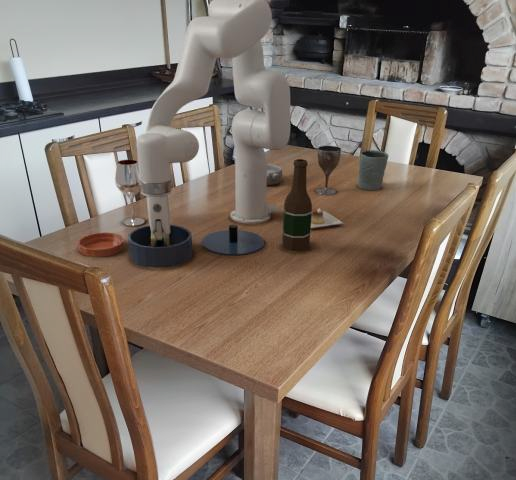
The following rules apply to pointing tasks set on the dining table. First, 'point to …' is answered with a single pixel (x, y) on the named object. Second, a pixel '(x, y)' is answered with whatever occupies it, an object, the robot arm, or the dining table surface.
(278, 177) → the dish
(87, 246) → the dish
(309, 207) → the beer bottle
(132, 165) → the wineglass
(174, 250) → the pan
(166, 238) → the cheese block
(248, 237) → the lid
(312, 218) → the dessert
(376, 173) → the green cup
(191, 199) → the dining table surface
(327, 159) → the wine glass
